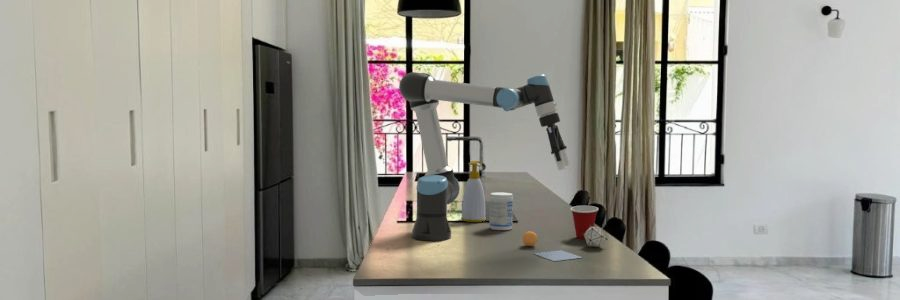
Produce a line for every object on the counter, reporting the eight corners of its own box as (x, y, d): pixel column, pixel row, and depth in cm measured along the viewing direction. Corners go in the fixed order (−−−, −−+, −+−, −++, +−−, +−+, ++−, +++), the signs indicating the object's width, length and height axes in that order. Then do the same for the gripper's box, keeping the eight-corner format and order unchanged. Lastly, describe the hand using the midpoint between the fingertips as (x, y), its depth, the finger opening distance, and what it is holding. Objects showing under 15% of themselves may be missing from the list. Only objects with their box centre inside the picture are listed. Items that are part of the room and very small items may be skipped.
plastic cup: (564, 237, 265) (564, 207, 264) (579, 233, 273) (579, 204, 272) (588, 242, 258) (589, 210, 257) (602, 238, 266) (603, 207, 265)
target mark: (533, 254, 237) (533, 253, 237) (561, 250, 242) (561, 250, 242) (553, 261, 226) (553, 260, 226) (582, 258, 232) (582, 257, 232)
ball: (519, 245, 250) (519, 230, 250) (531, 244, 253) (532, 229, 252) (527, 248, 245) (528, 233, 245) (540, 247, 248) (540, 232, 248)
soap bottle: (491, 219, 302) (492, 161, 300) (478, 223, 292) (479, 163, 290) (469, 217, 308) (470, 159, 306) (456, 220, 298) (456, 161, 296)
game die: (594, 258, 247) (588, 239, 242) (580, 245, 254) (575, 227, 248) (614, 245, 249) (609, 226, 243) (600, 233, 256) (594, 214, 250)
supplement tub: (512, 231, 277) (513, 195, 276) (489, 230, 277) (489, 195, 276) (511, 226, 286) (512, 192, 285) (489, 226, 287) (490, 191, 286)
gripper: (552, 112, 247) (570, 168, 246) (561, 111, 271) (577, 162, 270) (533, 118, 249) (550, 173, 249) (543, 116, 273) (559, 167, 272)
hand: (564, 167), depth 259 cm, fingers open, 13 cm apart
